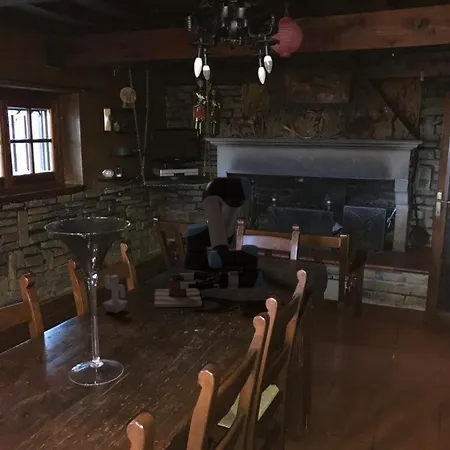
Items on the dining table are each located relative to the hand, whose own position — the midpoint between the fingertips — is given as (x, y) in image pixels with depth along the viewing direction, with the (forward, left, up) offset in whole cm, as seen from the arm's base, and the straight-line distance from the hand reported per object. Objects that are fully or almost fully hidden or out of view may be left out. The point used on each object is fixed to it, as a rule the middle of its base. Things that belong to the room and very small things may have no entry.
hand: (179, 280), depth 221 cm
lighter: (0, -1, -7) cm, 7 cm away
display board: (0, -1, -8) cm, 9 cm away
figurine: (+13, -27, -9) cm, 31 cm away
